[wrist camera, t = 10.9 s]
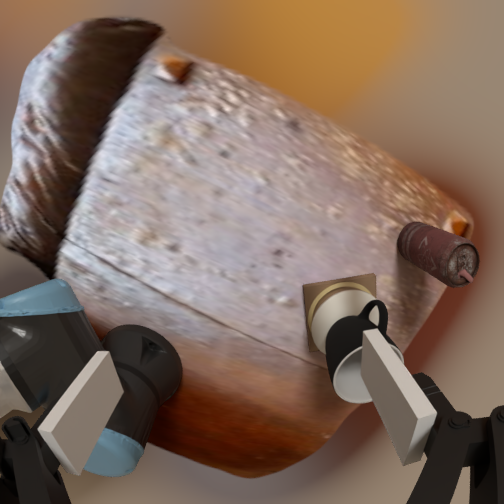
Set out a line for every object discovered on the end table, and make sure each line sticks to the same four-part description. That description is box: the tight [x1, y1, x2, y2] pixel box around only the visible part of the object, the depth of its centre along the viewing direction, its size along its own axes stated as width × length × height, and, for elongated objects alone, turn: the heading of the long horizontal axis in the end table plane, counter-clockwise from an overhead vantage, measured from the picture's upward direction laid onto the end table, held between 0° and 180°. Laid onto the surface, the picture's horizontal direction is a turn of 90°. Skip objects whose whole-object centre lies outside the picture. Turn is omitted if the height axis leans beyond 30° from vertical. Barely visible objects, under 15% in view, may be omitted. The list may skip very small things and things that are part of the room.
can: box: [398, 222, 479, 288], centre depth 38 cm, size 6×6×14 cm
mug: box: [325, 300, 404, 403], centre depth 37 cm, size 12×9×10 cm
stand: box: [303, 273, 379, 355], centre depth 45 cm, size 11×11×5 cm
